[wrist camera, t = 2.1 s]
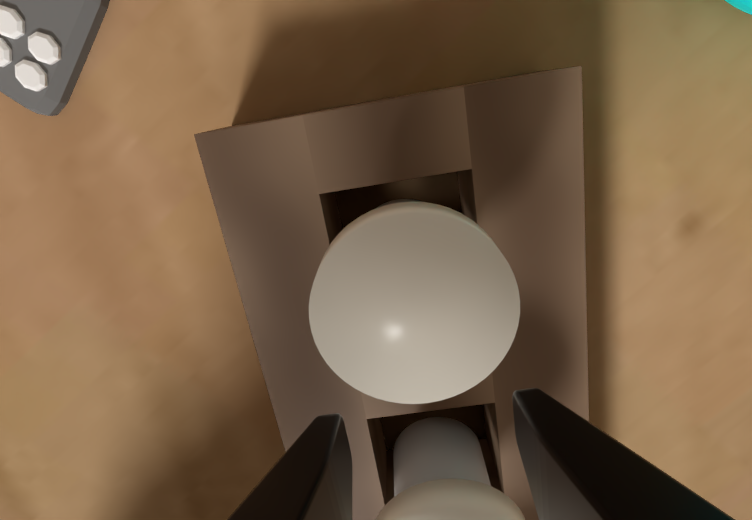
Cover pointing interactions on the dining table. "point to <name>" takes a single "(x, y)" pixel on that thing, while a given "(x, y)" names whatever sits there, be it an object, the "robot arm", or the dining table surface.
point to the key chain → (46, 49)
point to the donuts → (742, 5)
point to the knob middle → (443, 476)
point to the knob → (413, 303)
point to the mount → (478, 202)
